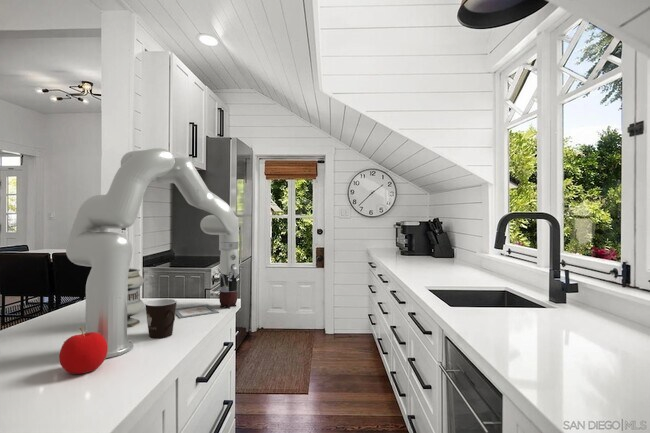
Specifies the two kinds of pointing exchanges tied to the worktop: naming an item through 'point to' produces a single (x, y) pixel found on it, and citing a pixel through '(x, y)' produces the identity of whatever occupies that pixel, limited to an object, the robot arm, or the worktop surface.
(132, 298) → the apothecary jar
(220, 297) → the mate gourd
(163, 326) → the coffee mug
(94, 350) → the fruit
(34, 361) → the worktop surface
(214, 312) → the gray square frame
